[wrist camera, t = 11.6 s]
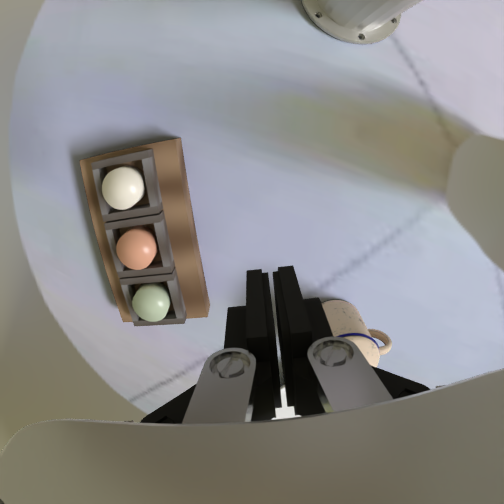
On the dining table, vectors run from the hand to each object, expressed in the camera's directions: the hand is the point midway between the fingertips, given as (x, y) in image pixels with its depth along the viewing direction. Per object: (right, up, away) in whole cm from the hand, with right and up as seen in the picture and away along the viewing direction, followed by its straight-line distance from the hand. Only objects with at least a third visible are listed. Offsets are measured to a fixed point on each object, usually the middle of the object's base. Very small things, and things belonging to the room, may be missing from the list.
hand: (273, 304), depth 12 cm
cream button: (-14, +9, +21) cm, 27 cm away
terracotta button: (-14, +3, +24) cm, 28 cm away
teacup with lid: (+12, -8, +33) cm, 36 cm away
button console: (-14, +4, +27) cm, 31 cm away
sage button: (-13, -4, +27) cm, 30 cm away
